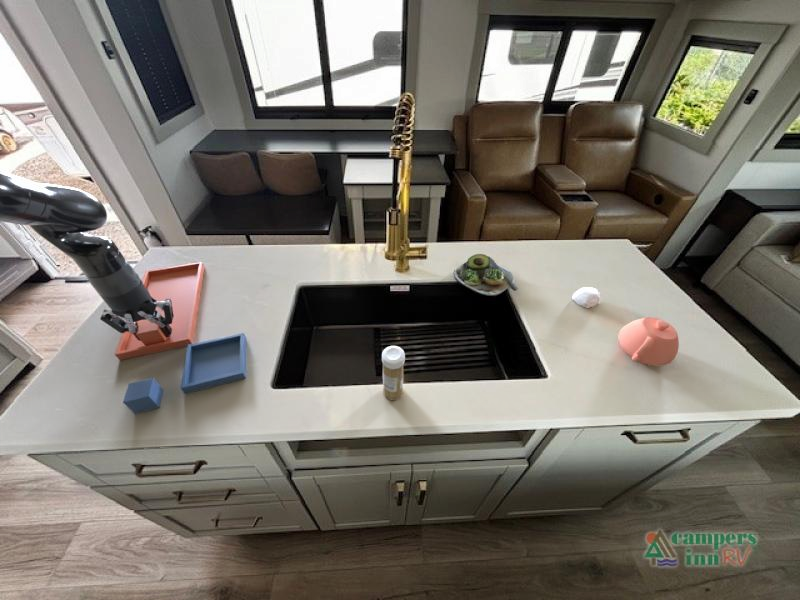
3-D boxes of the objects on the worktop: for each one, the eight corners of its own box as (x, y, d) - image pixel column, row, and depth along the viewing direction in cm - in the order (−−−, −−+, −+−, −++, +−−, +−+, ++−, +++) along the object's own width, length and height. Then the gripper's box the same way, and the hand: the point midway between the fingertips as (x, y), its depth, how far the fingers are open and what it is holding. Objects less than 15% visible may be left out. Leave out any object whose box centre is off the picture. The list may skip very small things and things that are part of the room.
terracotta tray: (119, 360, 76) (114, 354, 75) (149, 276, 100) (145, 270, 98) (192, 344, 80) (189, 339, 79) (204, 267, 104) (202, 261, 102)
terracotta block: (145, 346, 78) (135, 334, 75) (149, 333, 81) (140, 320, 78) (166, 342, 79) (157, 329, 76) (169, 329, 82) (161, 316, 79)
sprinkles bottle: (407, 392, 72) (409, 354, 63) (392, 404, 70) (392, 367, 61) (393, 379, 74) (394, 341, 65) (378, 391, 72) (376, 353, 63)
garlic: (583, 290, 100) (588, 280, 97) (603, 302, 96) (609, 293, 93) (566, 298, 97) (571, 289, 94) (587, 312, 93) (592, 302, 90)
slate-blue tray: (184, 393, 70) (180, 388, 69) (191, 350, 79) (187, 344, 78) (246, 378, 74) (243, 373, 72) (246, 338, 82) (243, 332, 81)
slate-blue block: (134, 413, 67) (122, 402, 64) (139, 395, 70) (128, 383, 67) (159, 407, 68) (148, 396, 65) (163, 389, 71) (153, 377, 68)
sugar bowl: (675, 353, 82) (701, 325, 75) (655, 384, 75) (682, 356, 68) (625, 326, 89) (645, 298, 82) (602, 352, 82) (622, 324, 75)
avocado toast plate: (529, 283, 102) (534, 271, 99) (497, 309, 93) (501, 297, 89) (479, 256, 112) (482, 245, 109) (446, 277, 103) (447, 265, 100)
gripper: (71, 302, 64) (119, 355, 76) (153, 288, 68) (187, 341, 79) (84, 279, 69) (127, 333, 81) (160, 267, 73) (191, 320, 85)
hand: (157, 336), depth 80 cm, fingers closed on terracotta block, 4 cm apart
